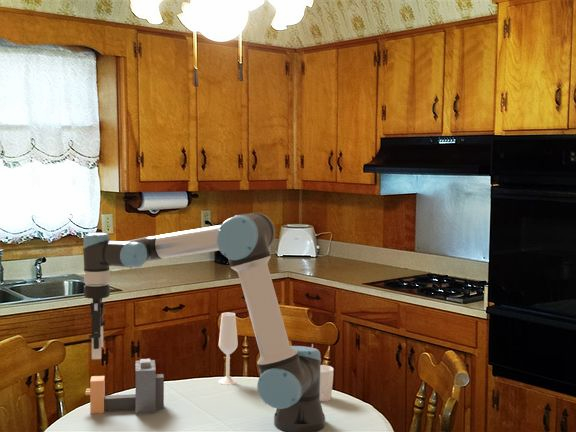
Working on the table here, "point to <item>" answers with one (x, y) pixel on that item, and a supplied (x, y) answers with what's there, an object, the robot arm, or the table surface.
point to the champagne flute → (228, 342)
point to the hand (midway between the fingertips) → (97, 352)
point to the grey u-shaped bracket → (145, 386)
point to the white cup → (326, 382)
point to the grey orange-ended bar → (118, 396)
